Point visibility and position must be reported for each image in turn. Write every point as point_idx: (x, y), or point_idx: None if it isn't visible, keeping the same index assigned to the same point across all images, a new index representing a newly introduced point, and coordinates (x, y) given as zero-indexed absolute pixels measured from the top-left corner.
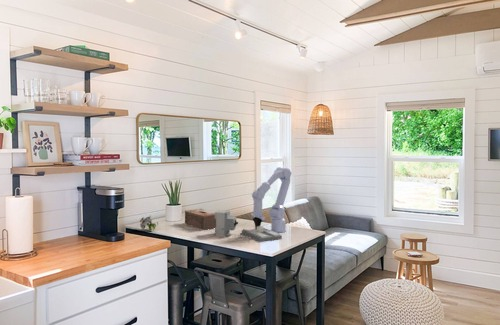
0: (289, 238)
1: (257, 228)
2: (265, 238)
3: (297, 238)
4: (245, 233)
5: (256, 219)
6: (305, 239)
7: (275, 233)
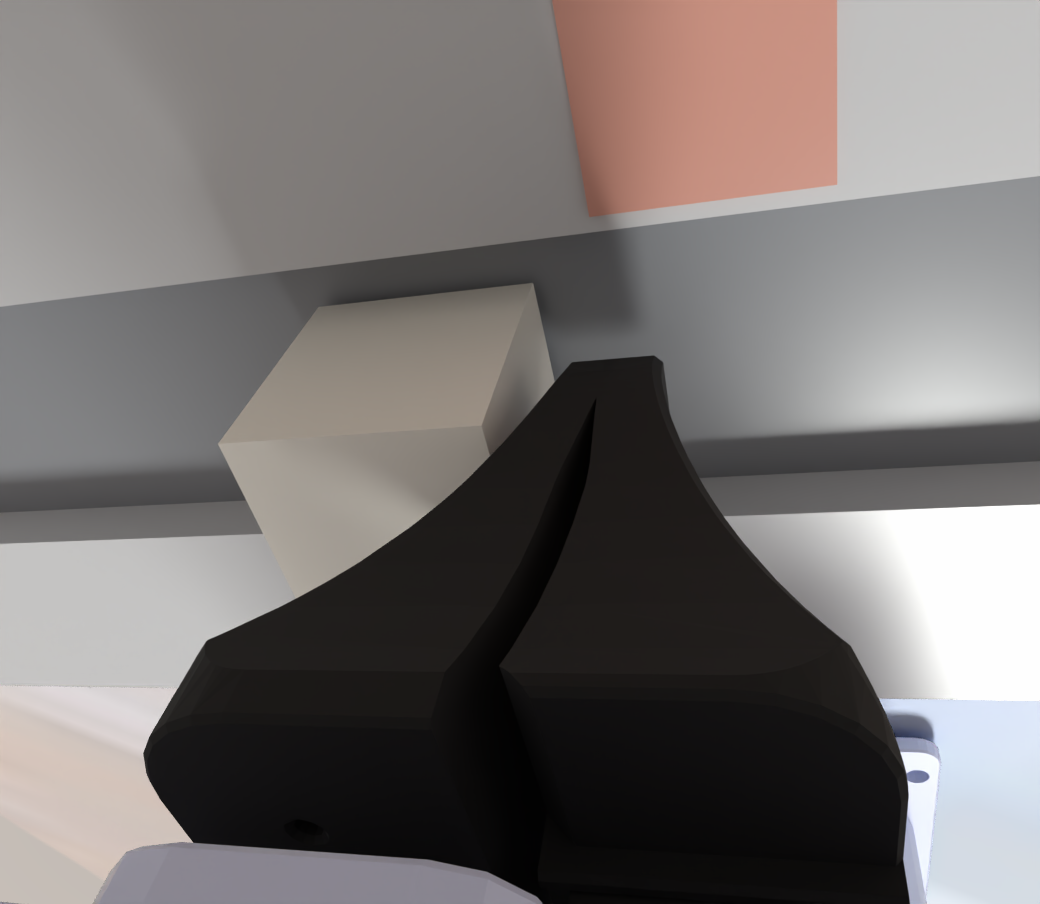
0: (116, 729)
1: (420, 377)
2: None
3: (123, 809)
4: None
5: (157, 732)
6: (65, 849)
7: (55, 637)
